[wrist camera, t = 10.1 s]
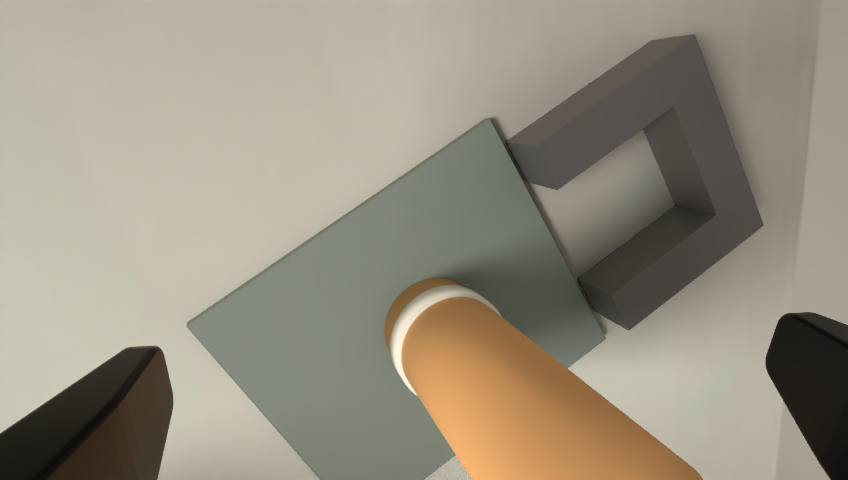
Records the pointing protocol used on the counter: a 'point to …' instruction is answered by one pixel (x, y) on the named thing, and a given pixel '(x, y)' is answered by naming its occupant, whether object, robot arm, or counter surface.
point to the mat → (371, 300)
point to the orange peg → (512, 396)
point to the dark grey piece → (678, 160)
